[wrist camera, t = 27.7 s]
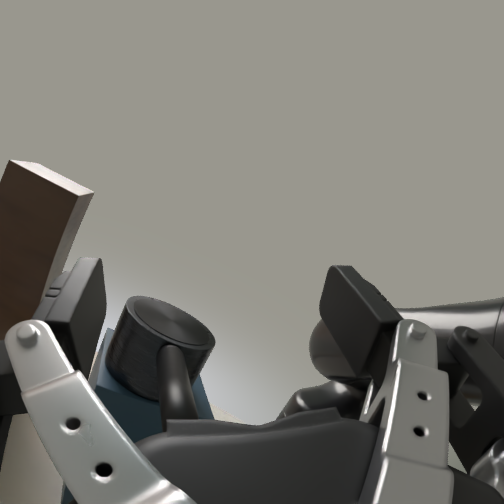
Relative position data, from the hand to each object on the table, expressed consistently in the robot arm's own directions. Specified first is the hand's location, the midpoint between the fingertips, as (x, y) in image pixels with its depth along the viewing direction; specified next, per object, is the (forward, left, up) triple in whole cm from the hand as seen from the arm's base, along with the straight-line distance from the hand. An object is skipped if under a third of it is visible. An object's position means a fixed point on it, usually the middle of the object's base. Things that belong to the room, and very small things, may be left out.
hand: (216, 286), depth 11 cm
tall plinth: (+7, -32, -33) cm, 46 cm away
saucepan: (-4, -7, -13) cm, 15 cm away
